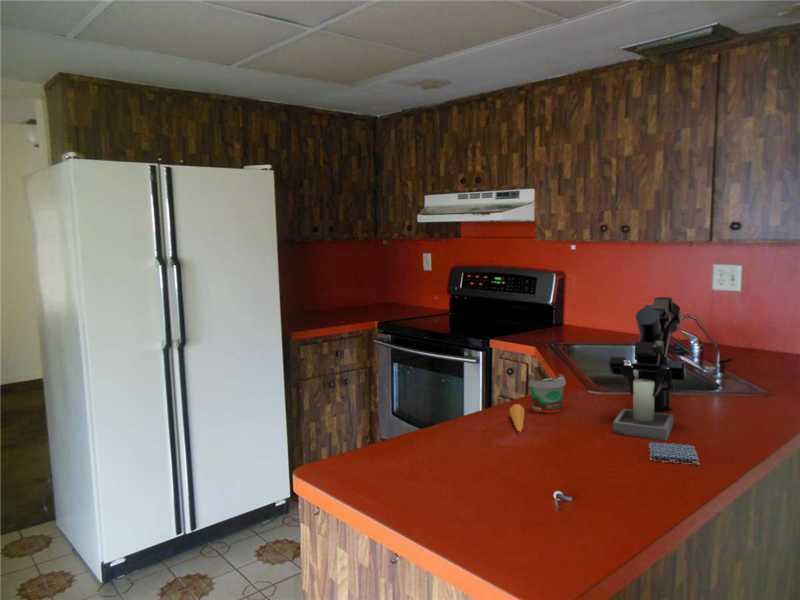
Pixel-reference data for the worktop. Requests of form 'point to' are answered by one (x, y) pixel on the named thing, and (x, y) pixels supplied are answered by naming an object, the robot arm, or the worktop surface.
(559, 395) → the food container
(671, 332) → the robot arm
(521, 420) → the carrot
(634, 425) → the tray
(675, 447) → the woven mat
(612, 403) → the worktop surface
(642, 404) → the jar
